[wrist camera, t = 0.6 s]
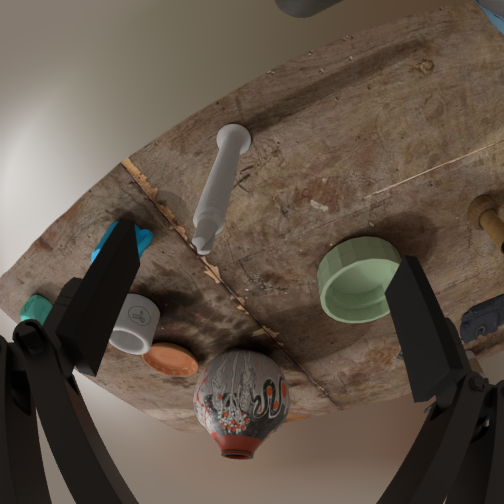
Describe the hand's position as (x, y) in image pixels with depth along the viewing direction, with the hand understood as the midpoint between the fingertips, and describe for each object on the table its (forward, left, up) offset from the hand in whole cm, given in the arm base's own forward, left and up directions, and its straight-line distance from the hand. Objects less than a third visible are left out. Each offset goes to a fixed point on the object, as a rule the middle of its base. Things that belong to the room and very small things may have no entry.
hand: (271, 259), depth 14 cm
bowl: (+1, +34, -32) cm, 47 cm away
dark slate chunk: (-29, +74, -33) cm, 86 cm away
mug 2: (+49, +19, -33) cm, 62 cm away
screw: (+7, +1, -33) cm, 33 cm away
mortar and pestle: (-27, +34, -33) cm, 55 cm away
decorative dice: (+78, +5, -33) cm, 85 cm away
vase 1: (+38, +49, -33) cm, 71 cm away
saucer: (+56, +39, -33) cm, 76 cm away
